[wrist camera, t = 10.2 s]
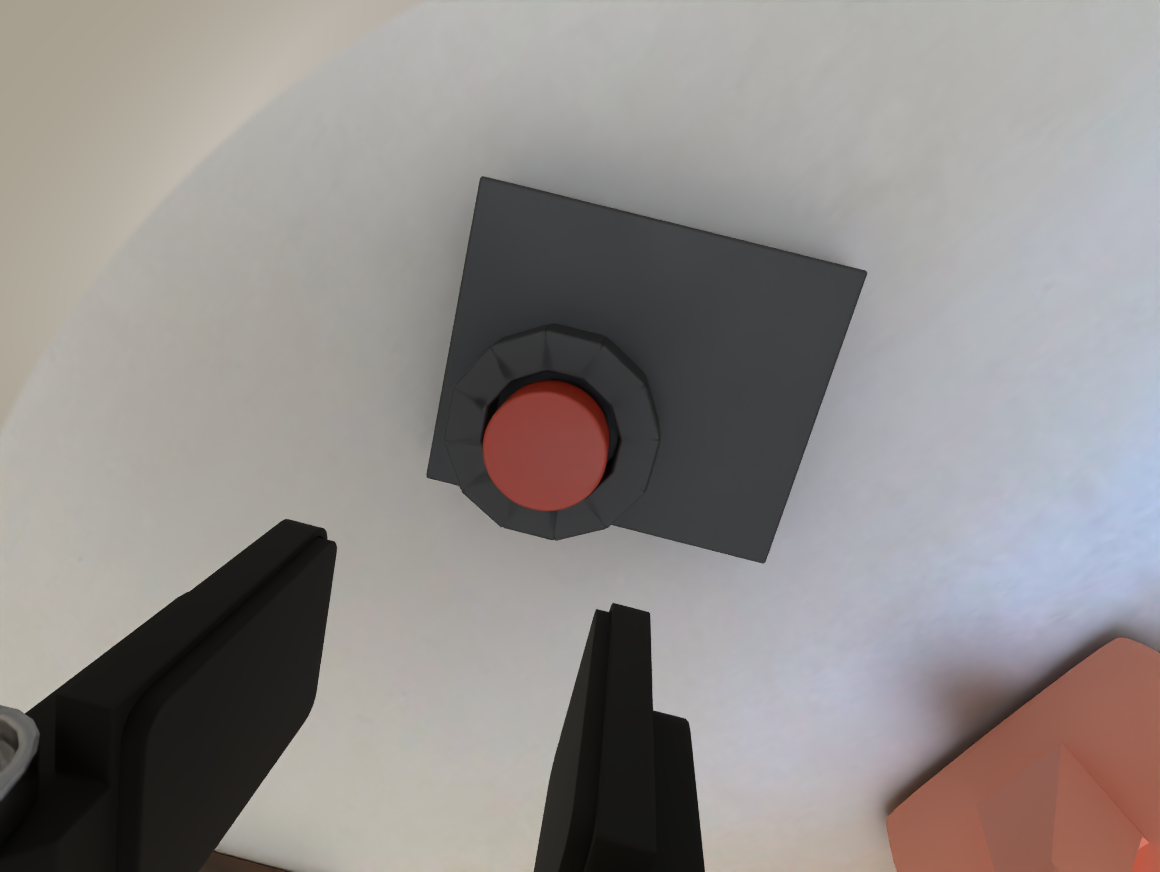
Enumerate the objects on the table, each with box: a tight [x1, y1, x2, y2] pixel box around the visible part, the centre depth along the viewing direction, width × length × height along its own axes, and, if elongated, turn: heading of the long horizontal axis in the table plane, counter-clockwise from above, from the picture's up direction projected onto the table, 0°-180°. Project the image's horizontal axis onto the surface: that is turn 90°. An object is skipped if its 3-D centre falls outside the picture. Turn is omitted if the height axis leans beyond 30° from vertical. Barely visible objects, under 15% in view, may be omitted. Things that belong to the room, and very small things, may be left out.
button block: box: [427, 176, 867, 563], centre depth 22 cm, size 12×10×4 cm
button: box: [483, 380, 610, 511], centre depth 20 cm, size 4×4×2 cm
